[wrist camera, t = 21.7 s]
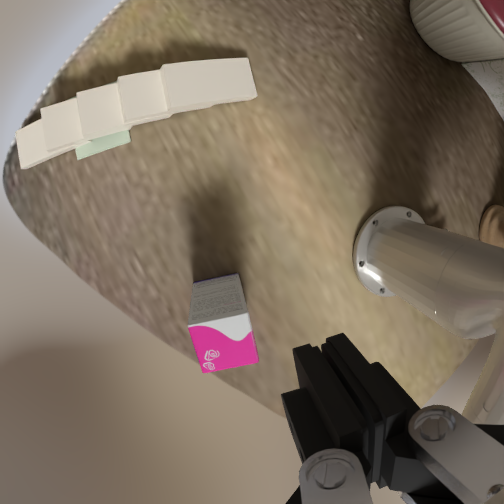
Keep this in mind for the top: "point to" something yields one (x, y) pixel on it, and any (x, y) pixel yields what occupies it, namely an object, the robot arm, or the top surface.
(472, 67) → the grocery bag
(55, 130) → the domino
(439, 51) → the canister
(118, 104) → the domino
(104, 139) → the end pad
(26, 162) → the end domino
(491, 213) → the candle holder
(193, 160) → the top surface
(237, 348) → the supplement box
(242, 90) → the domino
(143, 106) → the domino
